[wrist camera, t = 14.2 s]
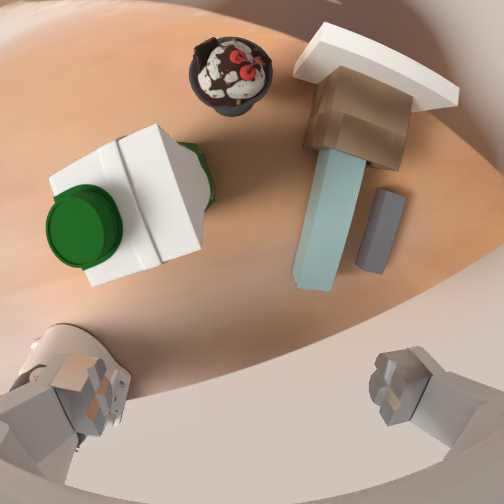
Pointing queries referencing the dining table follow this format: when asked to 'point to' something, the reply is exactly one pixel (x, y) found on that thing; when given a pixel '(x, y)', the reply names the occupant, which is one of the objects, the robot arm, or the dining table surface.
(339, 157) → the peg
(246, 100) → the sundae
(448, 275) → the dining table surface
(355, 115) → the block
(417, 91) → the wall
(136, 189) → the milk carton
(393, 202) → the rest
